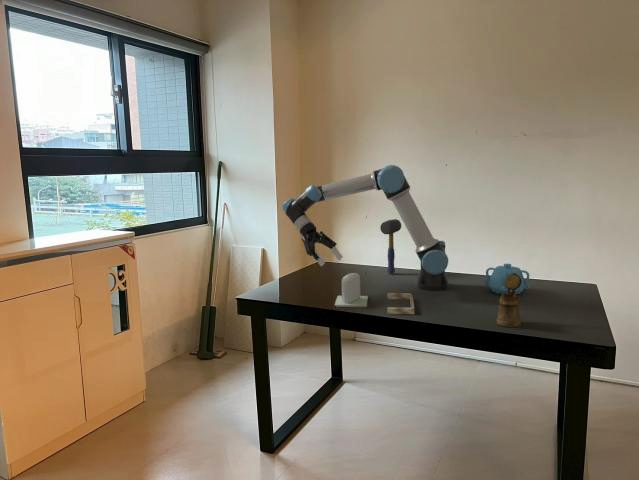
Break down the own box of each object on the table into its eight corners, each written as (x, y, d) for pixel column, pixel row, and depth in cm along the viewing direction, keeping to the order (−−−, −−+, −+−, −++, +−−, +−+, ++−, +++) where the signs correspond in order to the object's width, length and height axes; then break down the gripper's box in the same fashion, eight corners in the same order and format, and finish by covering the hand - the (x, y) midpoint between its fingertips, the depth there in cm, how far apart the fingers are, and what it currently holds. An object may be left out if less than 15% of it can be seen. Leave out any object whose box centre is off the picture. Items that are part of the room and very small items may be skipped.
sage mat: (367, 297, 228) (367, 295, 228) (366, 307, 214) (366, 305, 214) (337, 297, 230) (337, 295, 230) (334, 306, 216) (334, 304, 216)
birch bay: (411, 298, 224) (411, 293, 224) (414, 314, 203) (414, 308, 202) (387, 298, 226) (387, 293, 225) (387, 314, 204) (387, 308, 204)
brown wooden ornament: (525, 318, 194) (527, 273, 191) (518, 329, 183) (520, 282, 180) (501, 315, 199) (503, 271, 196) (493, 325, 188) (495, 279, 184)
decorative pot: (498, 298, 221) (499, 269, 218) (481, 288, 237) (482, 261, 234) (532, 296, 223) (533, 267, 221) (513, 286, 239) (515, 259, 236)
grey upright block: (348, 304, 217) (347, 276, 214) (340, 302, 219) (339, 275, 217) (361, 298, 224) (361, 272, 222) (354, 296, 227) (353, 270, 225)
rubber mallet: (391, 277, 263) (391, 221, 258) (379, 275, 268) (379, 220, 262) (402, 272, 273) (402, 218, 268) (390, 270, 277) (390, 218, 272)
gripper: (317, 228, 243) (343, 261, 237) (283, 236, 224) (310, 272, 218) (325, 218, 239) (352, 251, 233) (292, 225, 220) (320, 261, 213)
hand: (332, 261), depth 225 cm, fingers open, 13 cm apart
